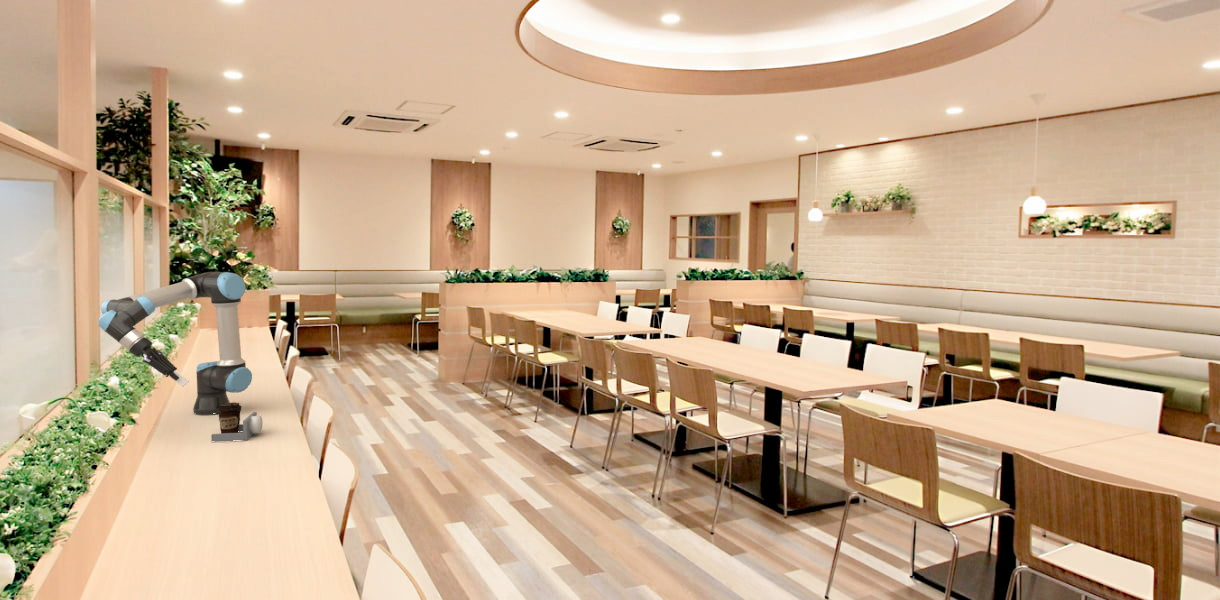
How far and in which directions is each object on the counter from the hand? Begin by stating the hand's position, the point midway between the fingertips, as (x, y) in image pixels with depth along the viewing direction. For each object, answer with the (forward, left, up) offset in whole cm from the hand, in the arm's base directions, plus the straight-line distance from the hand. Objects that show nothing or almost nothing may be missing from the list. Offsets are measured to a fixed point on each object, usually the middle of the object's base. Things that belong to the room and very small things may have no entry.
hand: (185, 384), depth 283 cm
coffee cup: (-2, +15, -22) cm, 27 cm away
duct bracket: (0, +19, -22) cm, 29 cm away
